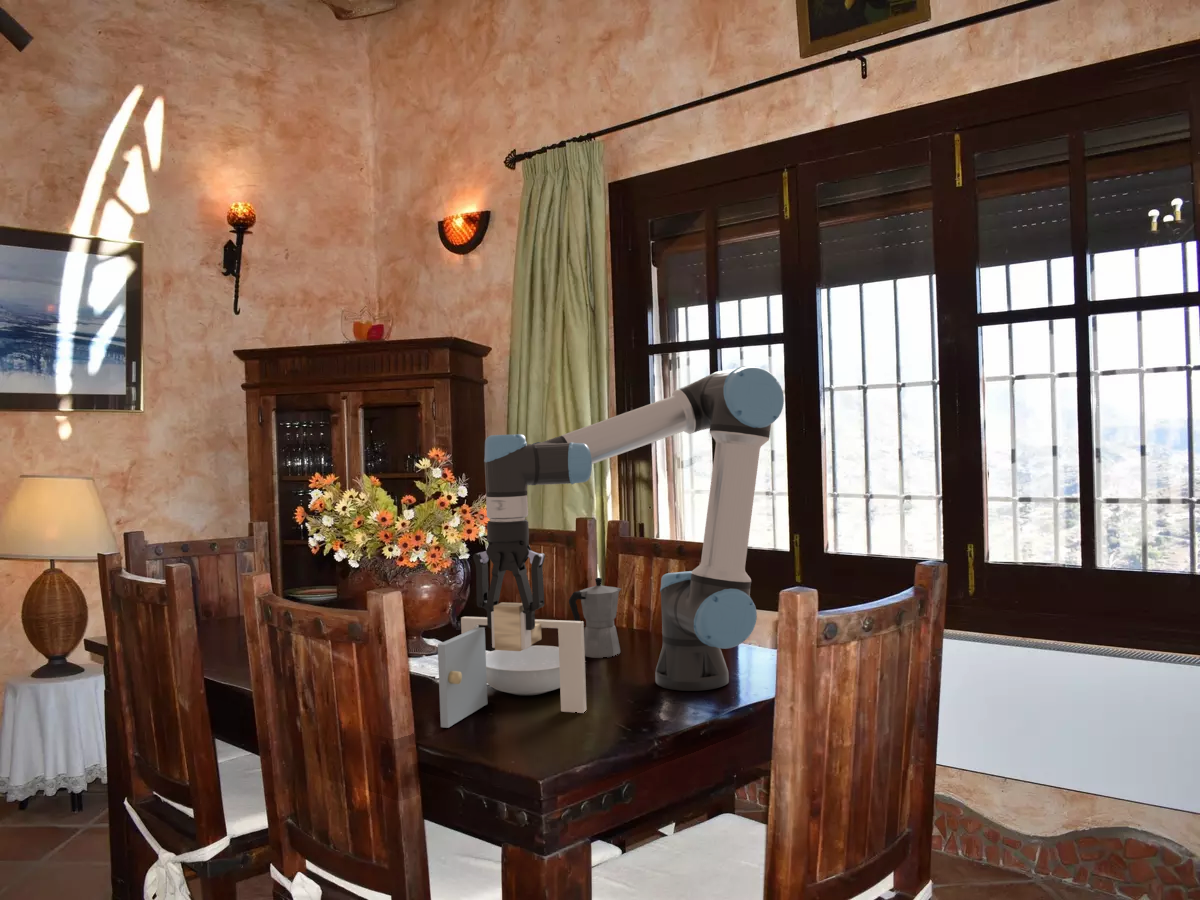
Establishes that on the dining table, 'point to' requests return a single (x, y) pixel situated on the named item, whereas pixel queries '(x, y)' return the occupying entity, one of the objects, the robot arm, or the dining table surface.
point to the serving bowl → (524, 670)
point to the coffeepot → (598, 619)
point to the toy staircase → (511, 627)
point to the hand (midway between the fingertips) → (511, 646)
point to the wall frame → (560, 659)
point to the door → (462, 676)
